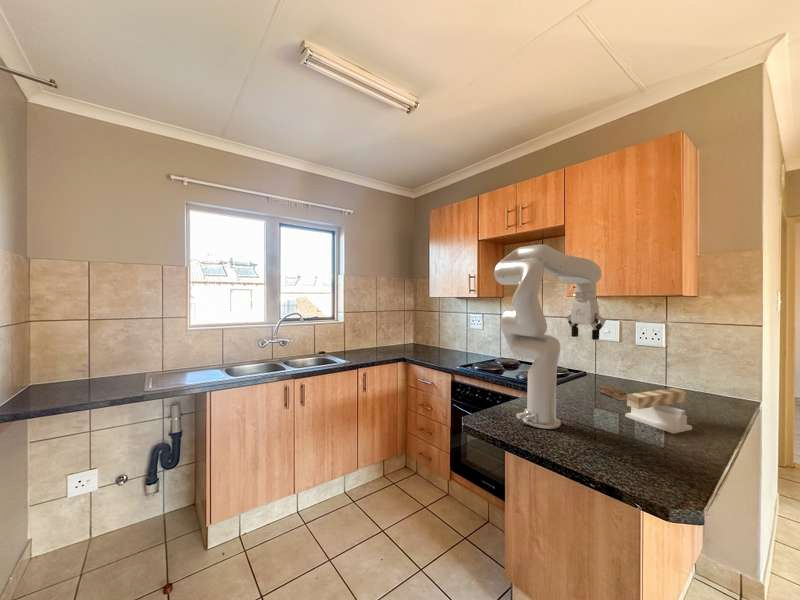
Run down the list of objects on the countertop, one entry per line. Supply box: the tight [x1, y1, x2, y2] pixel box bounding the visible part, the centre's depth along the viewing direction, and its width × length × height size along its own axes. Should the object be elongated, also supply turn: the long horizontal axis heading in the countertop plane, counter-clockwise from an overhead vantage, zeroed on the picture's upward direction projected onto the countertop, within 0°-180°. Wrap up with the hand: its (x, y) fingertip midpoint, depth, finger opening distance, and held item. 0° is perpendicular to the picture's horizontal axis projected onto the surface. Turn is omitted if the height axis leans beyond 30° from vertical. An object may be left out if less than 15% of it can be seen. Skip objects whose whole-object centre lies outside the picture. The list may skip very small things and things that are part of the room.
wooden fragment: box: [599, 384, 627, 402], centre depth 155 cm, size 26×11×1 cm, turn 162°
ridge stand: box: [624, 405, 693, 434], centre depth 118 cm, size 10×16×7 cm, turn 20°
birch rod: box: [626, 387, 688, 409], centre depth 118 cm, size 26×4×4 cm, turn 110°
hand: (584, 338), depth 135 cm, fingers open, 9 cm apart
